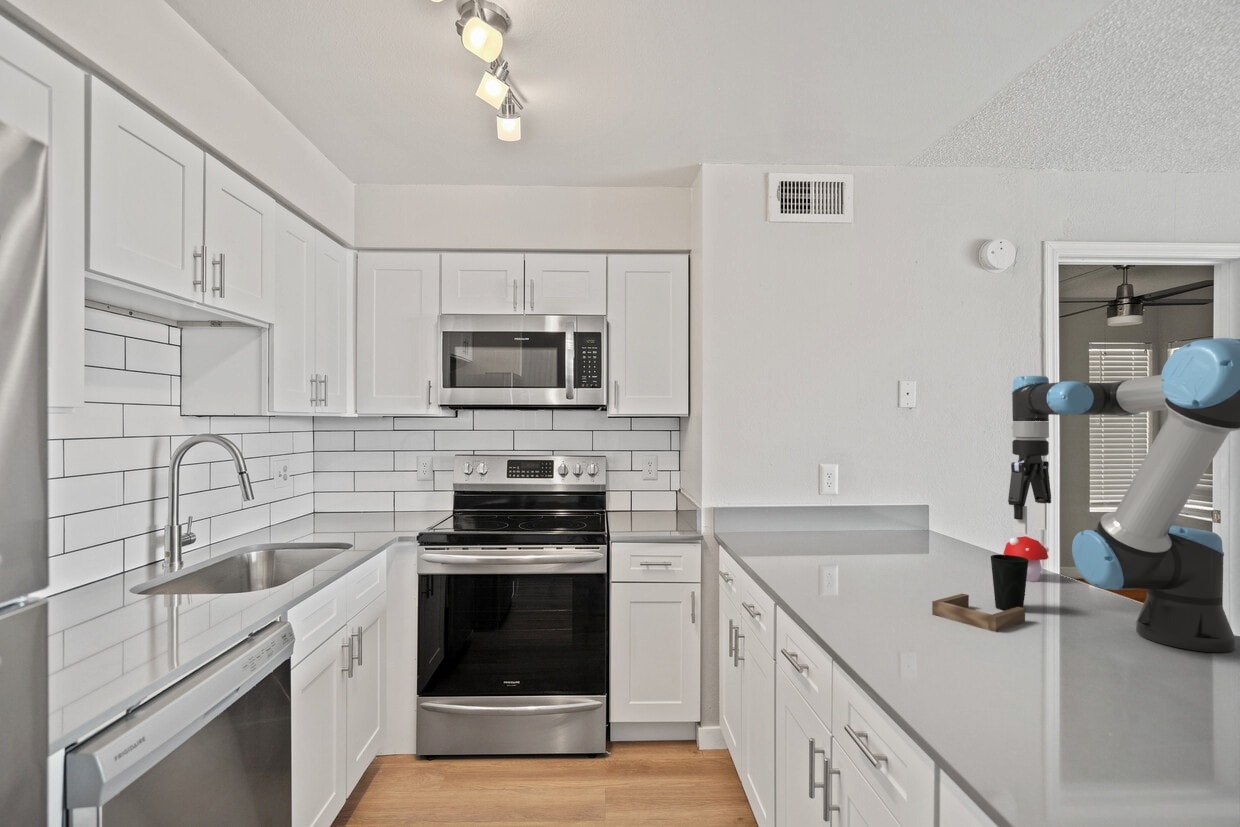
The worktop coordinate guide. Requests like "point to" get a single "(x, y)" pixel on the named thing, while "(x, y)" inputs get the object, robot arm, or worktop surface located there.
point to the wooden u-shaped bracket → (976, 614)
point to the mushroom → (1028, 554)
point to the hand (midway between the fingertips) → (1030, 530)
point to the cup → (1009, 580)
